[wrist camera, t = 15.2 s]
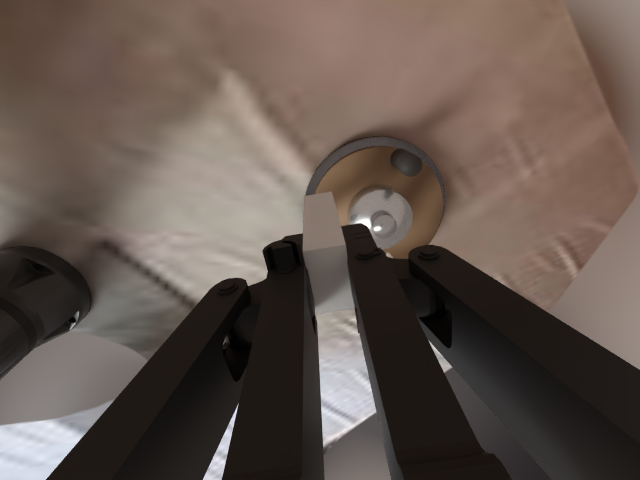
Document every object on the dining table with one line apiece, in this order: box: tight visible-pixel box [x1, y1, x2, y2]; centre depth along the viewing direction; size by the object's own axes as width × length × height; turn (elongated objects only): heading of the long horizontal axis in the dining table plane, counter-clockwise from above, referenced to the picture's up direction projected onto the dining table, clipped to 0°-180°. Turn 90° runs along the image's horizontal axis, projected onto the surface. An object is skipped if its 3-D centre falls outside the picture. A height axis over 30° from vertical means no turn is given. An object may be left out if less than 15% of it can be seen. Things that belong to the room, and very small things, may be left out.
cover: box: [347, 185, 413, 249], centre depth 40 cm, size 8×8×5 cm
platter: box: [314, 146, 443, 259], centre depth 41 cm, size 18×18×6 cm
